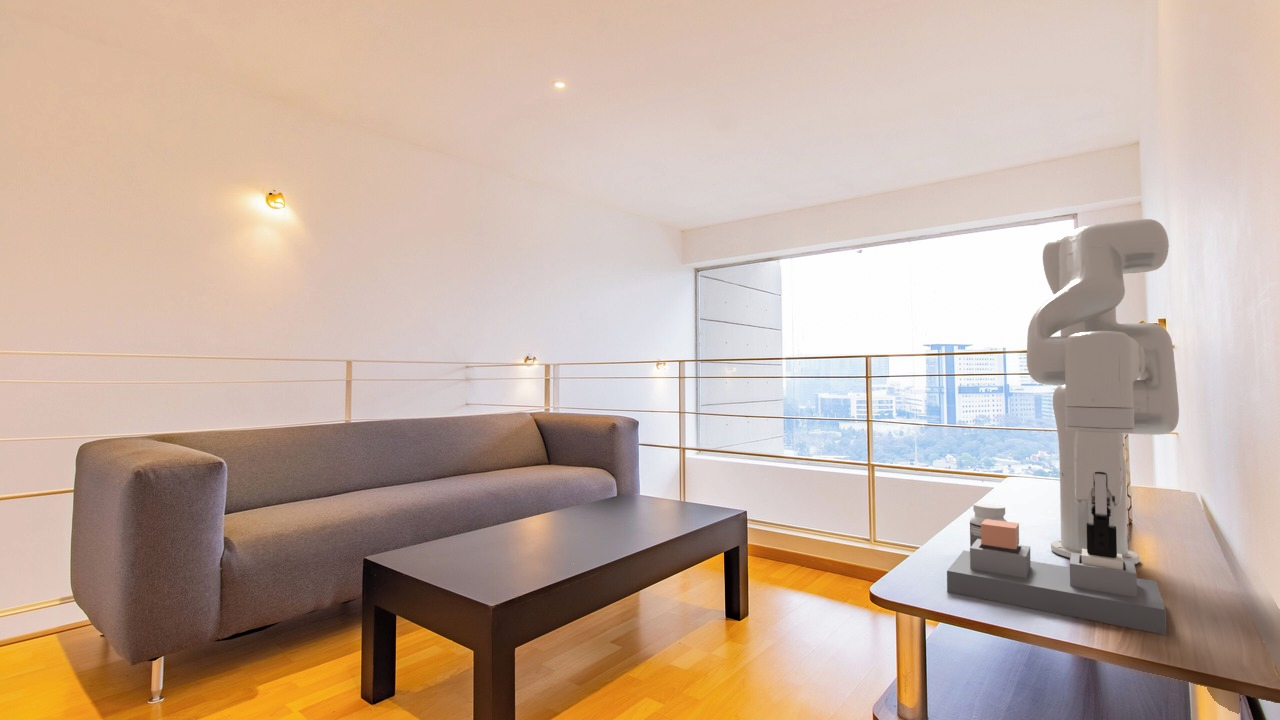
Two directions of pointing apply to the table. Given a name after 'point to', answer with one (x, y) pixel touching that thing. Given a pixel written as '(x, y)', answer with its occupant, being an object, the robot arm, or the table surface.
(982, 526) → the terracotta key
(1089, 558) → the pale key
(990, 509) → the pill bottle
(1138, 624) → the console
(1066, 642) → the table surface
